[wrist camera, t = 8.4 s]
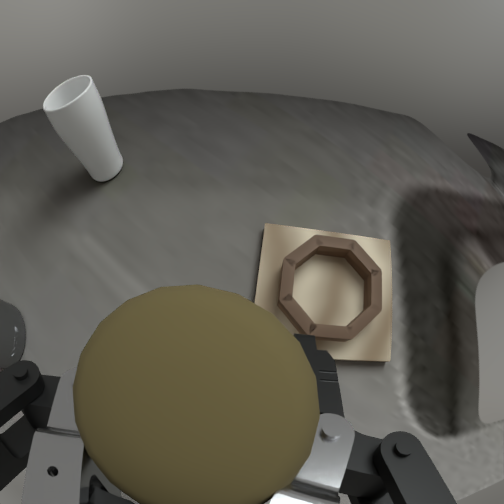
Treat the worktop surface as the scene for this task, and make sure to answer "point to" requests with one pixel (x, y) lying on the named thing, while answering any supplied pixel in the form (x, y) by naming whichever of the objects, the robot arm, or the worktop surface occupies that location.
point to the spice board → (329, 289)
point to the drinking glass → (84, 126)
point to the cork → (195, 399)
